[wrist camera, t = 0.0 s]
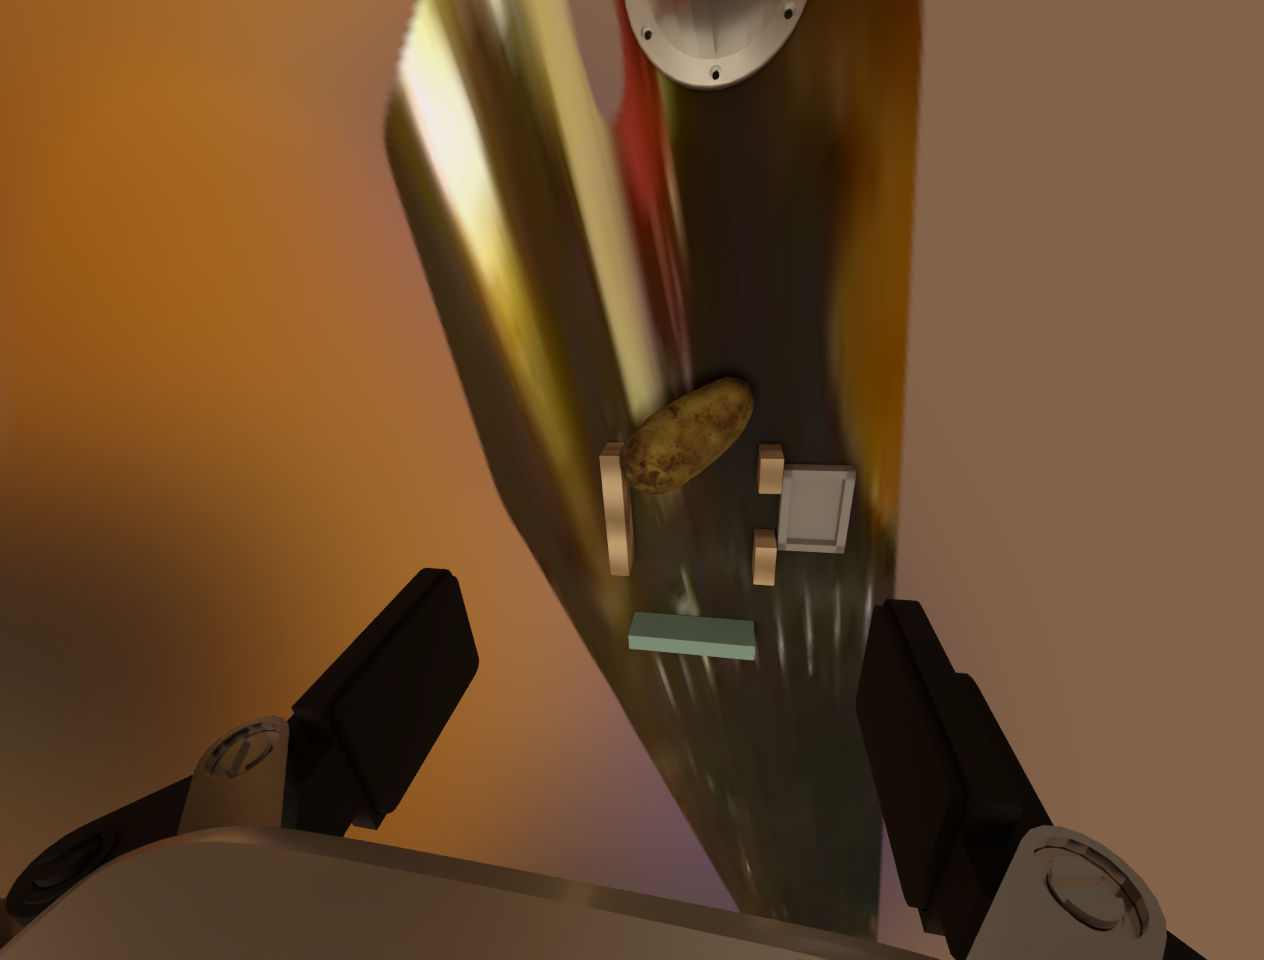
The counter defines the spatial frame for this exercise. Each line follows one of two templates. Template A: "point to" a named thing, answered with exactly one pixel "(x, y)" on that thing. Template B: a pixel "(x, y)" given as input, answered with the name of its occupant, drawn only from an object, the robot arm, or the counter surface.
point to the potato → (686, 436)
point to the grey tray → (815, 507)
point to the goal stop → (692, 635)
